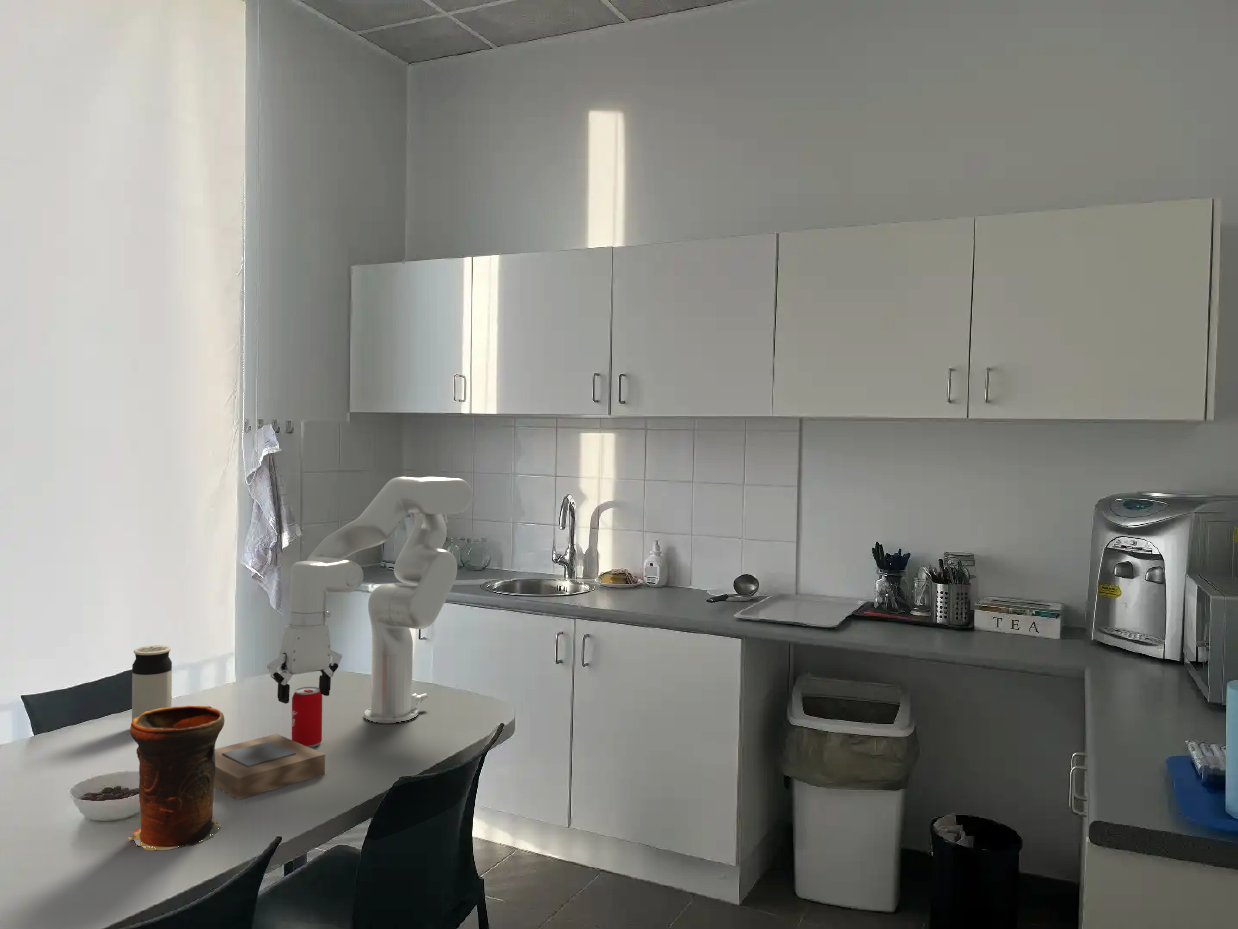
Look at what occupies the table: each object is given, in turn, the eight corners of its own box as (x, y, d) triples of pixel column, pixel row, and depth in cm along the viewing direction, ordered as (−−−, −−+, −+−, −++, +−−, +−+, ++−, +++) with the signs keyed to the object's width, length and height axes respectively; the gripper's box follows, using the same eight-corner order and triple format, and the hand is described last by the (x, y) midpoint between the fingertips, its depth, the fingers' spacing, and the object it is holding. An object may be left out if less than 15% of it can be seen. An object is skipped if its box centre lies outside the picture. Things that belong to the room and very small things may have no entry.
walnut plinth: (276, 752, 200) (277, 732, 200) (324, 774, 188) (325, 752, 188) (192, 775, 186) (192, 753, 186) (238, 799, 174) (238, 776, 174)
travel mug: (170, 732, 211) (170, 652, 210) (129, 735, 208) (130, 654, 207) (172, 721, 218) (173, 644, 218) (133, 724, 216) (134, 646, 215)
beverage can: (311, 738, 209) (312, 684, 209) (327, 744, 206) (328, 689, 205) (285, 745, 205) (286, 690, 204) (301, 751, 201) (302, 695, 200)
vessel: (148, 814, 167) (152, 702, 166) (232, 816, 168) (236, 704, 167) (110, 851, 152) (114, 728, 151) (202, 853, 153) (206, 731, 152)
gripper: (332, 612, 213) (329, 689, 213) (260, 620, 200) (257, 701, 200) (352, 617, 208) (348, 695, 208) (279, 626, 195) (276, 709, 195)
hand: (304, 698), depth 204 cm, fingers open, 9 cm apart
